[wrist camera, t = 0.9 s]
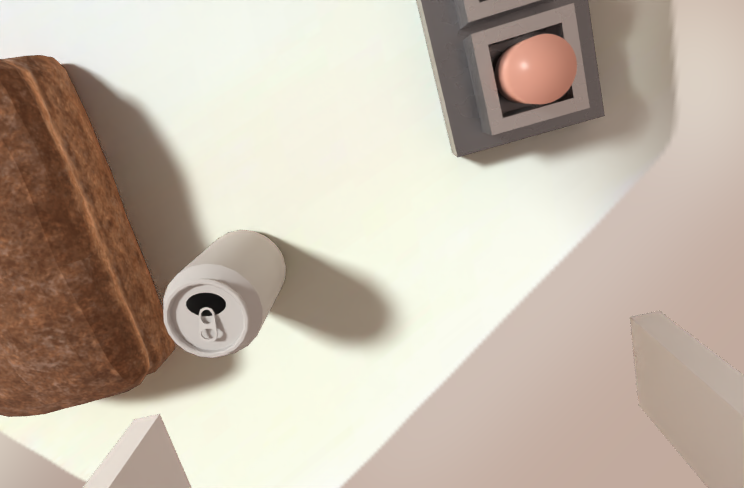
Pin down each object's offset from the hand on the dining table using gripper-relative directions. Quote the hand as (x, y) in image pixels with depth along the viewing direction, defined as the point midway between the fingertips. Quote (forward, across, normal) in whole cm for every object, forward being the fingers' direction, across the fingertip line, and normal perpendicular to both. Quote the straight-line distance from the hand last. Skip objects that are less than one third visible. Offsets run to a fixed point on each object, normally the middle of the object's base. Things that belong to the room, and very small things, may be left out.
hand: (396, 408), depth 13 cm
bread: (+32, -31, +4) cm, 45 cm away
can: (+32, -14, -4) cm, 35 cm away
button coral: (+27, +12, +7) cm, 31 cm away
